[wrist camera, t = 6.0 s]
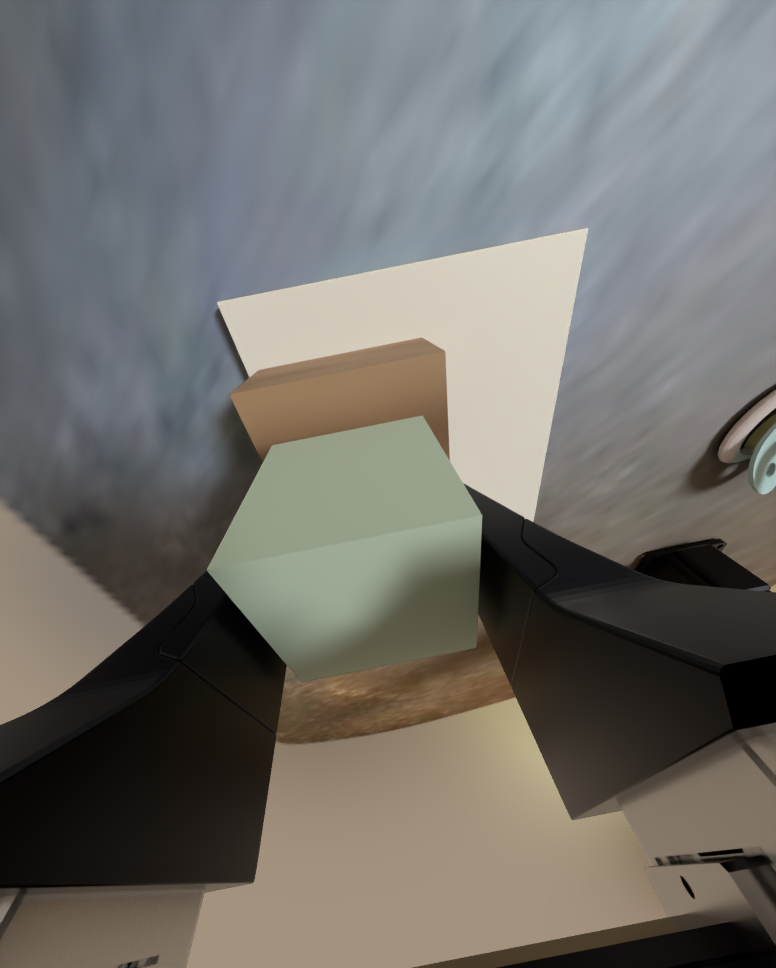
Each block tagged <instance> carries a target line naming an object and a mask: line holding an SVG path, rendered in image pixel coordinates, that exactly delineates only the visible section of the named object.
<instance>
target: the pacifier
mask: <svg viewBox="0 0 776 968" xmlns="http://www.w3.org/2000/svg"><path fill="white" fill-rule="evenodd" d="M775 408H776V389H775V390H774V391H773V392H771V393H770V394H769V395H767V396H766V397H765V398H763V399H762V400H761V401H759V402H758V403H757V404H756V405H755V406H753V407H752V408H751V409H750V410H749V411H748V412H747V413H745V414H744V416H743V417H742V418H741V419H740V420H739V421H738V422H737V423H736V424H735V425H734V426H733V427H732V428H731V430H730V431H729V432H728V433H727V435H726V436H725V438H724V440H723V441H722V443H721V445H720V447H719V451H718V457H719V459H720V461H722V462H725V463H736V462H740V461H743V460H747V459H749V458H751V460H750V463H749V469H748V478H749V482H750V485H751V487H752V489H753V490H754V491H756V492H759V493H761V494H767V493H769V492H770V491H771V490H772V489H773V488H774V487H775V486H776V414H774V415H773V416H772V417H770V418H769V419H768V420H766V421H765V422H764V423H763V424H762V425H761V426H760V427H758V428H757V429H756V430H755V431H754V433H753V434H752V435H751V436H750V437H749V439H748V440H747V442H746V444H745V446H744V449H741V450H740V448H741V444H742V443H743V441H744V440H745V438H746V437H747V435H748V434H749V433H750V432H751V431H752V429H753V428H754V427H755V426H756V425H757V424H758V423H759V422H760V421H761V420H762V419H763V418H764V417H765V416H767V415H768V414H769V413H770V412H771V411H773V410H774V409H775ZM769 465H770V468H769V470H768V472H767V473H766V469H767V467H768V466H769Z"/></svg>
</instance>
